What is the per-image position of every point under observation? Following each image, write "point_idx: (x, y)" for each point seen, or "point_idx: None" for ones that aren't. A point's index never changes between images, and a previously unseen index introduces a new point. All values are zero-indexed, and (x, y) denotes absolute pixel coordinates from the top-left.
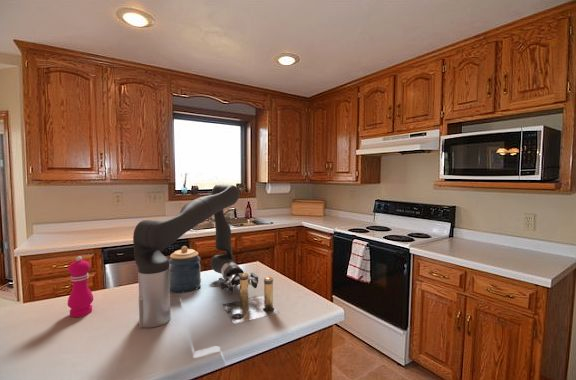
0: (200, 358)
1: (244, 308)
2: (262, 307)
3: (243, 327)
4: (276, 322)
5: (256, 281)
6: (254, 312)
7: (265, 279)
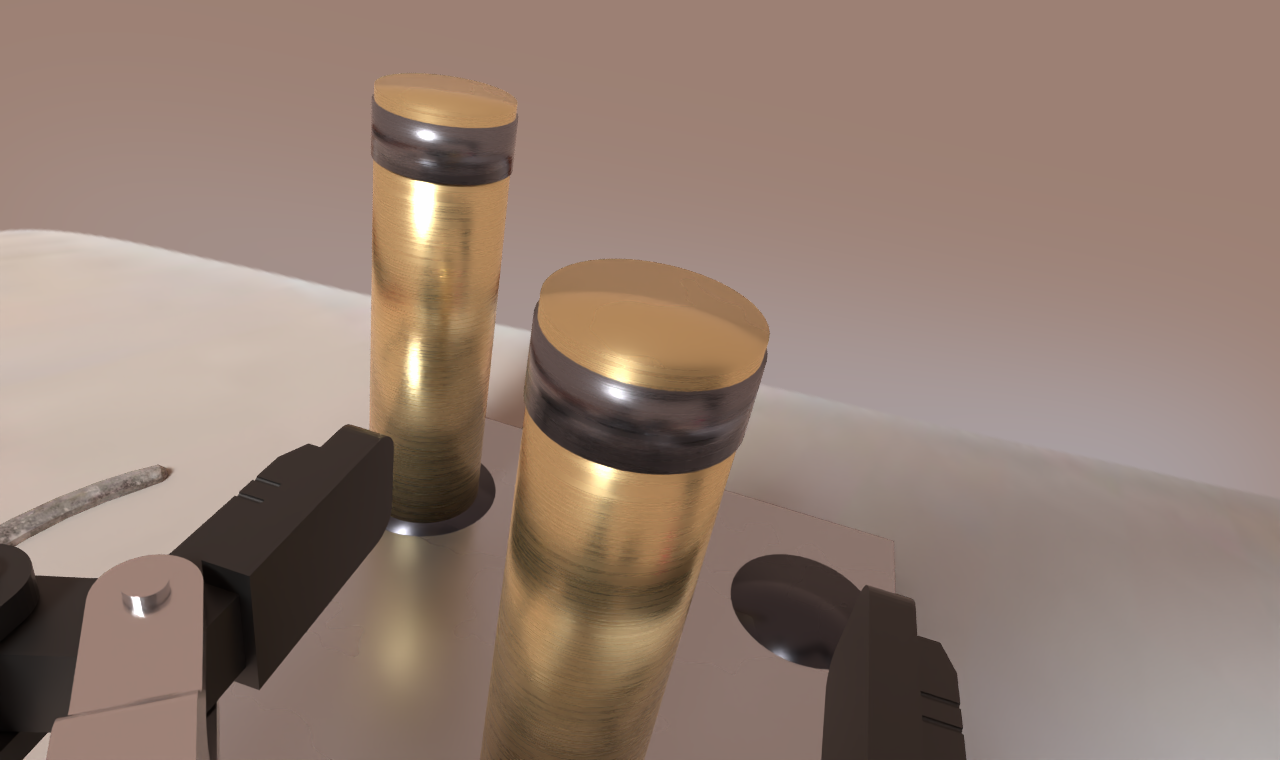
0: (1169, 485)
1: None
2: (435, 553)
3: None
4: (517, 403)
5: (244, 488)
6: None
7: (512, 103)
